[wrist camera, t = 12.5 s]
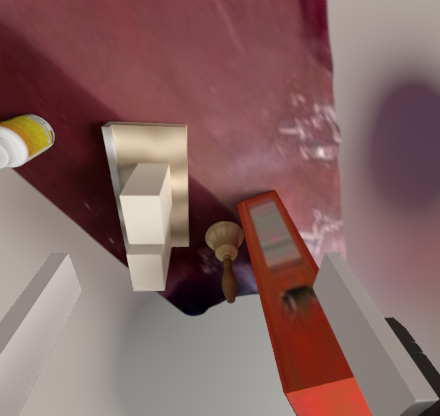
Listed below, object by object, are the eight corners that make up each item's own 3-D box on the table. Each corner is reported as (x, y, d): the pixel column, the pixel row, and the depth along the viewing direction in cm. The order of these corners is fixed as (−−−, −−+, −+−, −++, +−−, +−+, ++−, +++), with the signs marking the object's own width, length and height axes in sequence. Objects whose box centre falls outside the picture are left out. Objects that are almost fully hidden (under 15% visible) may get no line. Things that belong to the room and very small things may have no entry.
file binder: (276, 189, 47) (376, 372, 20) (294, 251, 56) (380, 437, 29) (236, 203, 48) (280, 395, 21) (260, 262, 57) (312, 450, 30)
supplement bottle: (28, 105, 37) (-25, 121, 28) (63, 133, 39) (24, 155, 31) (10, 130, 39) (-46, 152, 30) (44, 155, 41) (2, 183, 33)
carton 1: (136, 162, 41) (116, 195, 31) (169, 163, 41) (159, 195, 32) (142, 204, 45) (126, 244, 36) (172, 204, 45) (164, 243, 36)
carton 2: (140, 213, 46) (124, 254, 37) (169, 213, 46) (160, 254, 37) (144, 246, 50) (131, 291, 41) (171, 246, 51) (164, 290, 41)
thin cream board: (106, 121, 39) (98, 126, 36) (186, 124, 40) (185, 129, 37) (128, 240, 52) (124, 251, 49) (189, 240, 52) (188, 251, 50)
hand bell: (233, 255, 56) (243, 320, 42) (198, 244, 53) (197, 309, 40) (251, 228, 52) (268, 290, 38) (215, 215, 50) (220, 276, 36)
